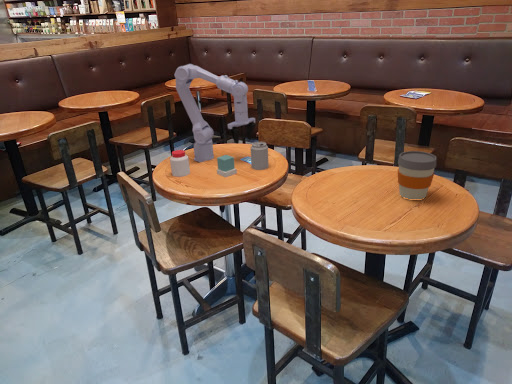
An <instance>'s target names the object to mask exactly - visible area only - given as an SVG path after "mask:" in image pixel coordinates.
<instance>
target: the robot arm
mask: <svg viewBox="0 0 512 384" xmlns="http://www.w3.org/2000/svg"><path fill="white" fill-rule="evenodd" d="M174 78H175V89H176V92H177V94H178V97H179V99H180V100H181V102H182V105H183V107H184V109H185V111H186V113H187V116H188V117H189V119H190V121H191V123H192V133H193V138H194V141H195V142H194V143H193V154H194V158H193V161H196V162H197V163H203V162H206V161H212V160H214V159H215V155H214V147H213V145H214V144H213V137H214V134H215V132H214V129H213V128H212V127H211V126H210V125H209V123H208V122H207V121H206V120H204V118H203V116H202V115H203V114H201V111H200V108H199V107H198V104H197V102H196V100H195V98H194V96H193V94H192V92H191V90H190V87H191V84H192V81H193V80H194V79H195V80H196V79H202V80H204V81H207V82H209V83H212V84H215V85H216V87H217V88H218V89H219V90H222V91H224V92H226V93H228V94H231V95H232V97H233V106H234V120H235V121H232V122H230V123H227V130H228V131H229V133H230V135H231V136H232V139H233V143H234V144H239V142H240V139H239V135H240V129H239V128H238V127H241V126H244V127H245V130H246V131H245V133H246V140H247V139H248V140H252V138H253V137H252V136H253V133H254V130H255V128H256V117H250V118H249V114H248V111H249V110H248V98H247V96H248V95H247V94H248V91H249V87H248V85H247V84H246V83H245V82H244V81H239V80H237V79H235V80H234V79H232V78H231V77H229V76H228V75H226V74H225V75H223V74H222V75H220V76H218V75H216V74H213V73H212V72H210V71H208V70H206V69H204V68H202V67H200V66H199V65H194V64H192V63H188V64H185V65H180V66H178V67H177V68H176V70H175V72H174Z"/></svg>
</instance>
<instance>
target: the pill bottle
mask: <svg viewBox="0 0 512 384" xmlns="http://www.w3.org/2000/svg"><path fill="white" fill-rule="evenodd" d="M169 162H170V169H171V175H172V176H173V177H176V178H177V177H179V178H181V177H186V176H188V175H190V174H191V169H190V159H189V156H188V155H187V154H186V151H185V150H184V149H175V150H172V152H171V157H170V158H169Z"/></svg>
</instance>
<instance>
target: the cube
mask: <svg viewBox="0 0 512 384" xmlns="http://www.w3.org/2000/svg"><path fill="white" fill-rule="evenodd" d="M216 159H217V160H216V162H217V169H220V170H222V171H225V172H226V171H229V170H232V169H234V168H235V169H236V167H235V157H234V156H231V155H228V154H224V155H221V156H218V157H217V158H216Z"/></svg>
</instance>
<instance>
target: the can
mask: <svg viewBox="0 0 512 384" xmlns="http://www.w3.org/2000/svg"><path fill="white" fill-rule="evenodd" d="M250 161H251V169H252V170H256V171H262V170H263V171H264V170H266V169H268V168H269V146H268V145H267V143H266V142H264V141H255V142H252V143H251V146H250Z"/></svg>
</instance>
